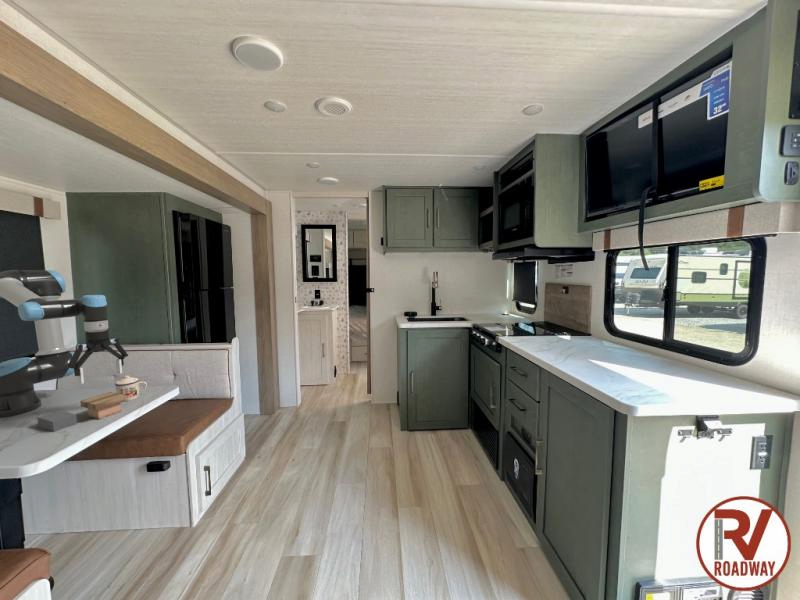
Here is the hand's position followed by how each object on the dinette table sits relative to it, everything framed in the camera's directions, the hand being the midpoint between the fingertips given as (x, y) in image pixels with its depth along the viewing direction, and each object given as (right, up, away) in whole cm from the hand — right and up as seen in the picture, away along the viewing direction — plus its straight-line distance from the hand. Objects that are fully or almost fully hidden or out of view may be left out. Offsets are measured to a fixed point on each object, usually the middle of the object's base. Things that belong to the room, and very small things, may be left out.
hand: (101, 377), depth 139 cm
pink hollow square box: (0, -17, +1) cm, 17 cm away
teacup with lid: (-3, -15, +20) cm, 25 cm away
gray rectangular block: (-10, -18, -9) cm, 22 cm away
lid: (0, -12, +1) cm, 12 cm away
